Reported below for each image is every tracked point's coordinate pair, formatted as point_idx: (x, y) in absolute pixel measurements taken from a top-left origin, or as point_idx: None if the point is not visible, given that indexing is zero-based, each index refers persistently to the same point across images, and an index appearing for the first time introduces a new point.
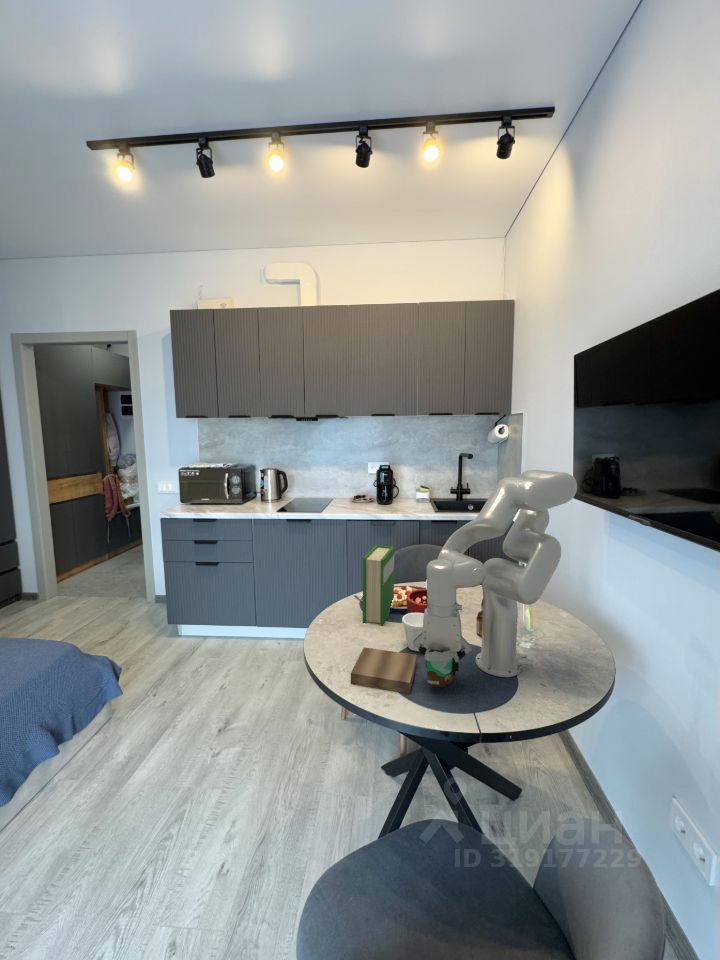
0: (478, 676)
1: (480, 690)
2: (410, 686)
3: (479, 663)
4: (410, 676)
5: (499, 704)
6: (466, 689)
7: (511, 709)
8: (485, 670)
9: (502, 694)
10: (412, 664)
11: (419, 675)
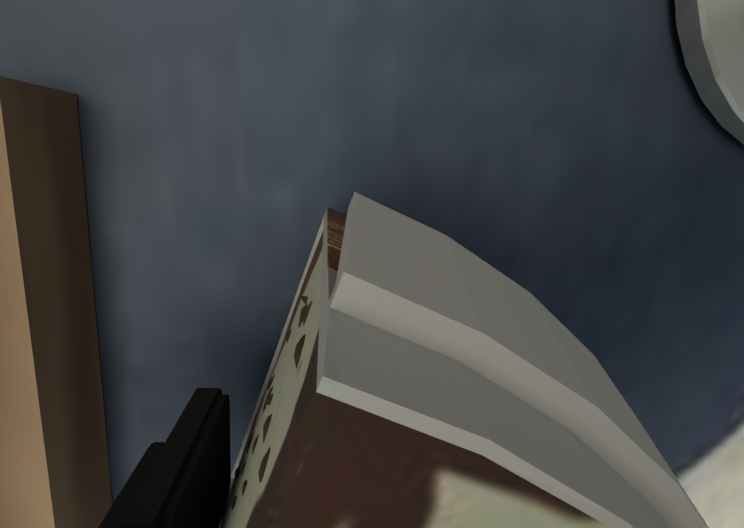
0: (638, 182)
1: (609, 356)
2: (93, 500)
3: (716, 18)
4: (43, 512)
5: (687, 461)
6: None
7: (738, 484)
8: (729, 118)
9: (739, 364)
10: (4, 310)
11: (143, 274)
